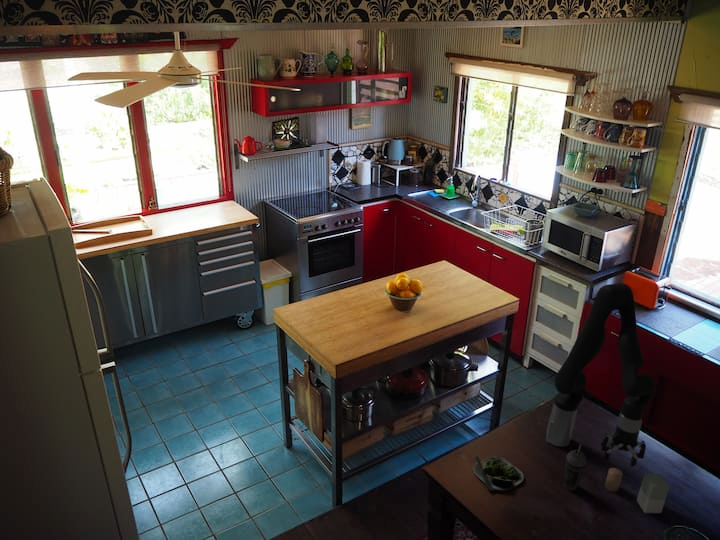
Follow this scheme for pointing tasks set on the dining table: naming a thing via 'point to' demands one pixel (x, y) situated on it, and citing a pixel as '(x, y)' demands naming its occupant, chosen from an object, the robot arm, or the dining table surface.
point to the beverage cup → (574, 469)
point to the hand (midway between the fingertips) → (619, 462)
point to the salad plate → (498, 473)
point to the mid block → (655, 487)
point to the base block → (649, 503)
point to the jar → (613, 479)
